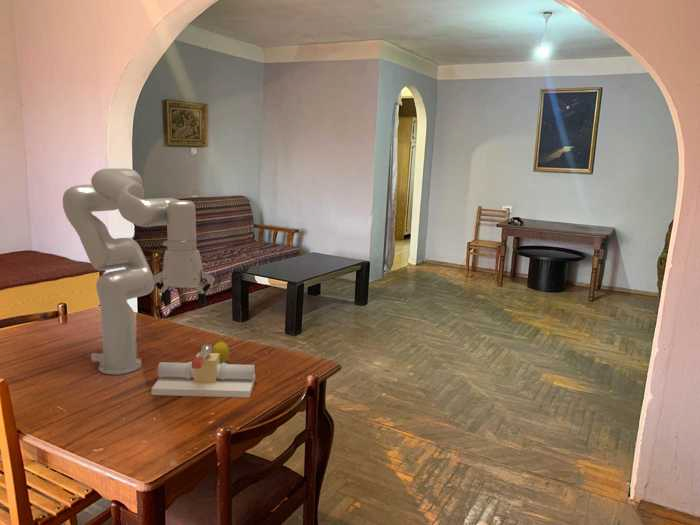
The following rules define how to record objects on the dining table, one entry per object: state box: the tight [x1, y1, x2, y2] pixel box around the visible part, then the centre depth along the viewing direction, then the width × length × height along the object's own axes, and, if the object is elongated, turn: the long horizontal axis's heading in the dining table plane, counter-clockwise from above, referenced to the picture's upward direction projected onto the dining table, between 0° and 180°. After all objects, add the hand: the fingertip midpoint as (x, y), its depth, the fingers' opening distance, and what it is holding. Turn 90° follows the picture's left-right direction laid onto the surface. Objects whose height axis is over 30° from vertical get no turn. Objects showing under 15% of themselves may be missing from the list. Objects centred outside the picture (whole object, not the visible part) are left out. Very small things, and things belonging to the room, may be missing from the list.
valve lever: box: [191, 344, 213, 369], centre depth 155 cm, size 14×3×2 cm, turn 2°
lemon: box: [211, 341, 230, 364], centre depth 178 cm, size 6×6×8 cm
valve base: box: [151, 352, 256, 399], centre depth 160 cm, size 28×12×10 cm, turn 92°
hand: (184, 305), depth 150 cm, fingers open, 9 cm apart
